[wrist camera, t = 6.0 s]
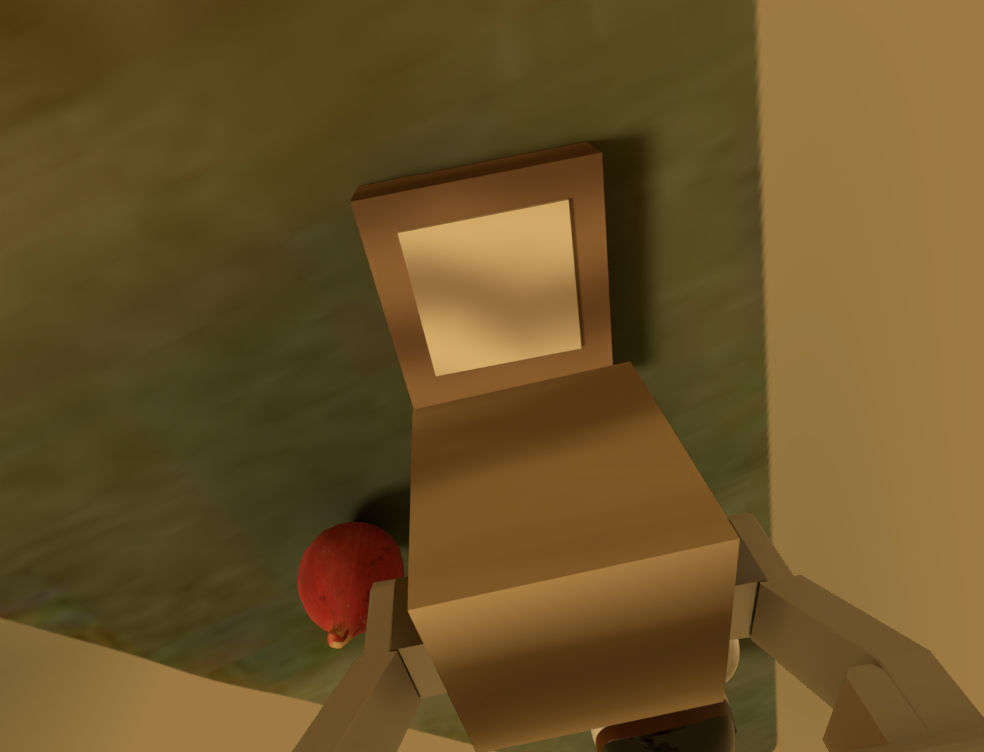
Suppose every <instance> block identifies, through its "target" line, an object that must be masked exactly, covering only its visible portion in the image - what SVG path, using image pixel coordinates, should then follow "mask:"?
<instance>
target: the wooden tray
mask: <svg viewBox="0 0 984 752" xmlns="http://www.w3.org/2000/svg"><path fill="white" fill-rule="evenodd" d="M350 203H351V206H352V209H353V213H354V216H355V219H356V222H357V226H358V229H359V232H360V235H361V239H362V242H363V245H364V248H365V252H366V255H367V258H368V261H369V265H370V268H371V271H372V274H373V278H374V281H375V284H376V287H377V291H378V294H379V297H380V301H381V304H382V307H383V310H384V314H385V317H386V320H387V323H388V327H389V330H390V333H391V336H392V340H393V343H394V346H395V349H396V353H397V356H398V359H399V362H400V366H401V369H402V372H403V375H404V379H405V382H406V385H407V388H408V392H409V395H410V398H411V401H412V405H413V408H414V409H418V408H422V407H427V406H431V405H436V404H440V403H445V402H449V401H454V400H458V399H463V398H467V397H472V396H476V395H481V394H485V393H490V392H494V391H499V390H503V389H508V388H512V387H517V386H521V385H526V384H530V383H535V382H539V381H544V380H548V379H553V378H557V377H562V376H566V375H571V374H575V373H580V372H584V371H589V370H593V369H598V368H602V367H607V366H611V365H613V359H612V339H611V319H610V299H609V279H608V259H607V240H606V220H605V200H604V180H603V160H602V152H601V151H599V150H598V149H596V148H595V147H594V146H592V145H591V144H589V143H588V142H582V143H577V144H572V145H566V146H561V147H556V148H551V149H546V150H541V151H536V152H531V153H526V154H521V155H515V156H510V157H505V158H500V159H495V160H490V161H485V162H480V163H475V164H470V165H464V166H459V167H454V168H449V169H444V170H439V171H434V172H429V173H424V174H419V175H413V176H408V177H403V178H398V179H393V180H388V181H383V182H378V183H373V184H368V185H362V186H358V187H357V189H356V191H355V193H354V195H353V197H352V199H351V201H350Z"/></svg>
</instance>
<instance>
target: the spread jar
mask: <svg viewBox="0 0 984 752" xmlns="http://www.w3.org/2000/svg"><path fill="white" fill-rule="evenodd" d="M739 654H740V647H739V639H735V640H730V642H729V652H728V662H727V672H726V682H727V681H728V680H729V679H730V678H731V677H732V676H733V674H734V672H735V670H736V668H737V665H738V662H739ZM736 732H737V730H736V726H735V722H734V717H733V714H732V711H731V708H730V705H729V702H728V699H727V697H726V694H725V692H724V702H720V703H715V704H710V705H705V706H701V707H696V708H691V709H687V710H682V711H677V712H672V713H668V714H663V715H658V716H653V717H649V718H644V719H639V720H635V721H630V722H625V723H620V724H616V725H611V726H606V727H602V728H597V729H592V730H591V733H592V736H593V740H594V743H595V746H596V749H597V752H734V751H735V745H736Z"/></svg>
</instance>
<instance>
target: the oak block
mask: <svg viewBox="0 0 984 752" xmlns="http://www.w3.org/2000/svg"><path fill="white" fill-rule="evenodd" d="M739 542H740V538H739V536H738V535H737V533H736V532H735V530H734V528H733V527H732V525H731V523H730V522H729V520H728V519H727V517H726V515H725V514H724V512H723V511H722V509H721V507H720V506H719V504H718V502H717V501H716V499H715V498H714V496H713V494H712V493H711V491H710V490H709V488H708V486H707V485H706V483H705V481H704V480H703V478H702V477H701V475H700V473H699V472H698V470H697V469H696V467H695V465H694V464H693V462H692V460H691V459H690V457H689V456H688V454H687V452H686V451H685V449H684V447H683V446H682V444H681V443H680V441H679V439H678V438H677V436H676V435H675V433H674V431H673V430H672V428H671V426H670V425H669V423H668V422H667V420H666V418H665V417H664V415H663V414H662V412H661V410H660V409H659V407H658V405H657V404H656V402H655V401H654V399H653V397H652V396H651V394H650V393H649V391H648V389H647V388H646V386H645V384H644V383H643V381H642V380H641V378H640V376H639V375H638V373H637V372H636V370H635V368H634V367H633V365H632V363H631V362H630V361H629V362H625V363H620V364H616V365H611V366H607V367H602V368H598V369H593V370H589V371H584V372H580V373H575V374H571V375H566V376H562V377H557V378H553V379H548V380H544V381H539V382H535V383H530V384H526V385H521V386H517V387H512V388H508V389H503V390H499V391H494V392H490V393H485V394H481V395H476V396H472V397H467V398H463V399H458V400H454V401H449V402H445V403H440V404H436V405H431V406H427V407H422V408H418V409H413V413H412V453H411V492H410V532H409V572H408V612H409V615H410V617H411V619H412V621H413V623H414V625H415V627H416V629H417V631H418V633H419V635H420V637H421V639H422V641H423V644H424V646H425V648H426V650H427V652H428V654H429V656H430V658H431V660H432V662H433V664H434V666H435V668H436V670H437V673H438V675H439V677H440V679H441V681H442V683H443V685H444V687H445V689H446V691H447V693H448V695H449V697H450V699H451V702H452V704H453V706H454V708H455V710H456V712H457V714H458V716H459V718H460V720H461V722H462V724H463V726H464V728H465V731H466V733H467V735H468V737H469V739H470V741H471V743H472V745H473V747H474V749H475V751H476V752H488V751H493V750H498V749H502V748H507V747H512V746H517V745H521V744H526V743H531V742H535V741H540V740H545V739H550V738H554V737H559V736H564V735H569V734H573V733H578V732H583V731H587V730H592V729H597V728H602V727H606V726H611V725H616V724H620V723H625V722H630V721H635V720H639V719H644V718H649V717H653V716H658V715H663V714H668V713H672V712H677V711H682V710H687V709H691V708H696V707H701V706H705V705H710V704H715V703H720V702H724V692H725V682H726V672H727V662H728V652H729V642H730V632H731V622H732V612H733V602H734V592H735V582H736V572H737V562H738V552H739Z"/></svg>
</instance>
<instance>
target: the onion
mask: <svg viewBox="0 0 984 752" xmlns="http://www.w3.org/2000/svg"><path fill="white" fill-rule="evenodd" d="M403 577H404V567H403V560H402V556H401V552H400V548H399V546H398V545H397V543H396V542H395V540H394V539H393V538H392V537H391V536H390V535H389V534H388V533H387V532H385V531H384V530H383V529H381V528H379V527H378V526H375V525H372V524H369V523H366V522H358V521H356V522H348V523H342V524H338V525H336V526H334V527H332V528H329V529H327V530H325V531H323V532H322V533H321V534H320V535H319V536H318V537H317V538H316V539H315V540H314V541H313V542H312V544H311V545H310V546H309V547H308V548H307V549H306V550H305V552H304V555H303V557H302V560H301V562H300V568H299V575H298V591H299V595H300V599H301V601H302V603H303V605H304V607H305V609H306V612H307V614H308V615H309V617H310V618H311V619H312V620H313V621H314V622H315V623H316V624H317V625H319V626H320V627H321V628H322V629H324V630H326V631H327V632H329V633H328V636H327V639H328V643H329V645H330V647H335V648H341V647H343V646H344V645H346V644H347V643H348V642H349V641H350V640H351V639H352V638H353V637H355V636H356V635H358V634H361V633H364V632H366V627H367V618H368V609H369V600H370V591H371V588H372V586H373V583H375V582H380V581H386V580H391V579H397V578H403Z"/></svg>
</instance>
